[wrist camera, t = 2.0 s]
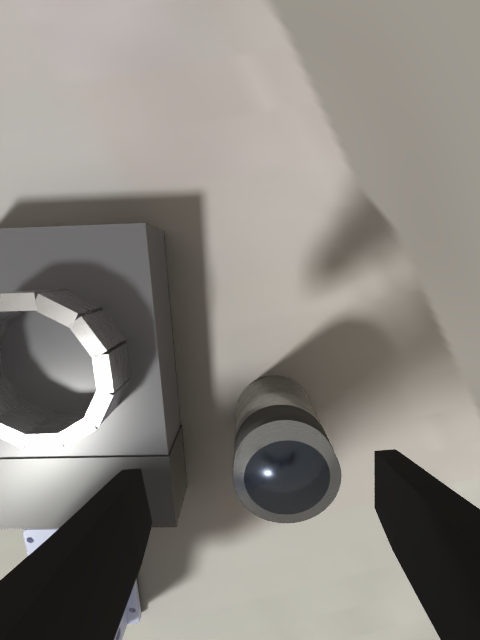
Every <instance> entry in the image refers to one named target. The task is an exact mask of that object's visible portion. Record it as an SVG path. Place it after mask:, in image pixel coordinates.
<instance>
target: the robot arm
mask: <svg viewBox="0 0 480 640" xmlns="http://www.w3.org/2000/svg"><path fill="white" fill-rule="evenodd" d="M375 509H376V512H377V514H378V517H379V519H380V522H381V524H382V526H383V529H384V531H385V533H386V536H387V538H388V540H389V543H390V545H391V547H392V550H393V551H394V553H395V555H396V557H397V559H398V561H399V563H400V565H401V567H402V568H403V570H404V572H405V574H406V576H407V578H408V580H409V582H410V583H411V585H412V587H413V589H414V591H415V593H416V595H417V596H418V598H419V600H420V602H421V604H422V606H423V608H424V609H425V611H426V613H427V615H428V617H429V619H430V621H431V622H432V624H433V626H434V628H435V630H436V632H437V634H438V635H439V637H440V639H441V640H480V509H479V508H477V507H476V506H474V505H473V504H471V503H470V502H469V501H467V500H466V499H464V498H463V497H461V496H460V495H459V494H457V493H456V492H454V491H453V490H451V489H450V488H449V487H447V486H446V485H444V484H443V483H442V482H440V481H439V480H438V479H436V478H435V477H433V476H432V475H431V474H429V473H428V472H426V471H425V470H424V469H422V468H421V467H420V466H418V465H417V464H415V463H414V462H413V461H411V460H410V459H408V458H407V457H406V456H404V455H403V454H401V453H400V452H398V451H397V450H382V451H375ZM151 526H152V518H151V513H150V508H149V504H148V499H147V494H146V490H145V485H144V480H143V476H142V471H141V468H140V469H126V470H121V471H120V472H119V473H118V474H117V475H116V476H115V477H113V478H112V479H111V480H110V481H109V482H108V483H107V484H106V485H105V486H104V487H103V488H102V489H101V490H99V491H98V492H97V493H96V494H95V495H94V496H93V497H92V498H91V499H90V500H89V501H88V502H87V503H86V504H85V505H84V506H83V507H81V508H80V509H79V510H78V511H77V512H76V513H75V514H74V515H73V516H72V517H71V518H70V519H69V520H68V521H66V522H65V523H64V524H63V525H62V526H61V527H60V528H38V529H25V530H24V531H23V536H24V540H25V545H26V549H27V553H28V557H26V558H25V559H24V560H23V561H22V562H21V563H20V564H19V565H17V566H16V567H15V568H14V569H13V570H12V571H11V572H9V573H8V574H7V575H6V576H5V577H4V578H3V579H1V580H0V640H122V638H123V635H124V632H125V629H126V626H127V624H136V623H138V622H139V621H140V618H141V607H140V600H139V593H138V586H137V579H136V578H137V575H138V572H139V570H140V567H141V564H142V560H143V557H144V553H145V549H146V546H147V542H148V538H149V534H150V530H151Z"/></svg>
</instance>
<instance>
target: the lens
mask: <svg viewBox="0 0 480 640" xmlns="http://www.w3.org/2000/svg"><path fill="white" fill-rule="evenodd" d="M233 467H234V471H233V482H234V488H235V491H236V493H237V496H238V498H239V499H240V501H241V502H242V504H243V505H244V506H245V507H246V508H247V509H248V510H249V511H251V512H252V513H253V514H255V515H257V516H258V517H260V518H263V519H265V520H268V521H272V522H277V523H295V522H301V521H304V520H307V519H310V518H312V517H314V516H316V515H318V514H319V513H321V512H322V511H324V510H325V509H326V508H327V507H328V506H329V505H330V504H331V503H332V501H333V500H334V498H335V497H336V495H337V493H338V490H339V487H340V484H341V469H340V464H339V462H338V459H337V457H336V455H335V453H334V451H333V448H332V446H331V444H330V442H329V440H328V438H327V436H326V434H325V431H324V429H323V428H322V426H321V424H320V422H319V420H318V418H317V416H316V414H315V412H314V410H313V408H312V406H311V404H310V402H309V399H308V397H307V395H306V394H305V392H304V390H303V389H302V388H301V387H300V386H299V385H298V384H297V383H296V382H294V381H292V380H290V379H288V378H285V377H281V376H267V377H262V378H259V379H257V380H255V381H253V382H252V383H250V384H249V385H248V386H247V387H246V388H245V389H244V390H243V392H242V393H241V395H240V397H239V400H238V404H237V416H236V434H235V446H234V465H233Z"/></svg>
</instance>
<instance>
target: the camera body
mask: <svg viewBox="0 0 480 640" xmlns="http://www.w3.org/2000/svg"><path fill="white" fill-rule="evenodd" d="M140 468H141V471H142V476H143V480H144V485H145V490H146V494H147V499H148V504H149V508H150V513H151V518H152V526H151V527H176V526H177V522H178V519H179V515H180V511H181V507H182V503H183V500H184V496H185V492H186V488H187V479H186V468H185V456H184V444H183V432H182V425H180V414H179V402H178V391H177V379H176V367H175V356H174V344H173V332H172V321H171V309H170V297H169V286H168V274H167V263H166V251H165V239H164V231H162V230H160V229H158V228H156V227H153V226H151V225H149V224H147V223H127V224H100V225H74V226H47V227H21V228H0V529H38V528H60V527H61V526H62V525H63V524H64V523H65V522H66V521H68V520H69V519H70V518H71V517H72V516H73V515H74V514H75V513H76V512H77V511H78V510H79V509H80V508H81V507H83V506H84V505H85V504H86V503H87V502H88V501H89V500H90V499H91V498H92V497H93V496H94V495H95V494H96V493H97V492H98V491H99V490H101V489H102V488H103V487H104V486H105V485H106V484H107V483H108V482H109V481H110V480H111V479H112V478H113V477H115V476H116V475H117V474H118V473H119V472H120V471H121V470H126V469H140Z"/></svg>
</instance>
